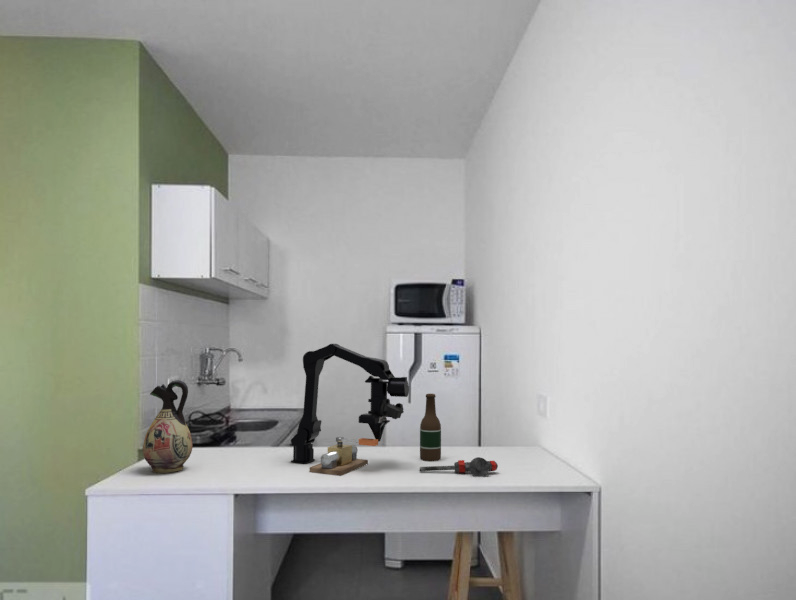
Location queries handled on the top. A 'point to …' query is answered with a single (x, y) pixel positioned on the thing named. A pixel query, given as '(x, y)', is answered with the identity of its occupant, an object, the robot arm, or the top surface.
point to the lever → (359, 441)
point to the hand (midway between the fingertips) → (378, 441)
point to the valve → (467, 467)
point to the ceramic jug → (168, 432)
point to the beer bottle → (430, 432)
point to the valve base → (339, 468)
